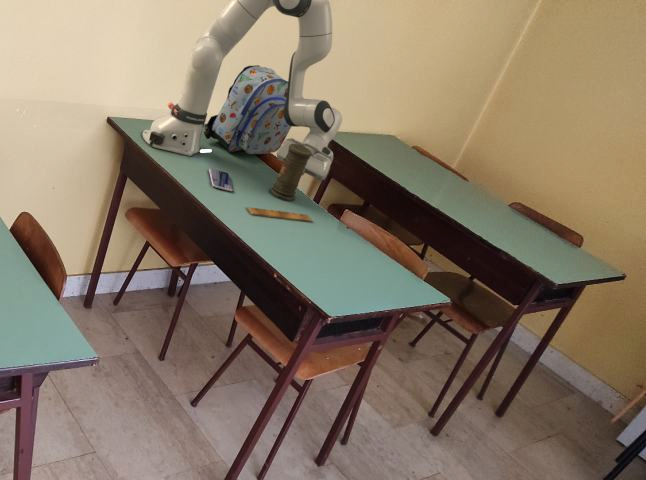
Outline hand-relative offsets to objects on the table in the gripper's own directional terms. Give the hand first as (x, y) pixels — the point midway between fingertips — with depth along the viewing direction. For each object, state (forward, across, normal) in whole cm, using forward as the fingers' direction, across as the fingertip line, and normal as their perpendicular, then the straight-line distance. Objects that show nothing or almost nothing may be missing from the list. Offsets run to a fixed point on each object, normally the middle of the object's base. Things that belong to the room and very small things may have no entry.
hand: (292, 177), depth 224 cm
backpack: (-11, -30, +19) cm, 37 cm away
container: (+8, 0, +1) cm, 8 cm away
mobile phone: (+18, -19, -10) cm, 28 cm away
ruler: (+20, +7, -12) cm, 24 cm away
